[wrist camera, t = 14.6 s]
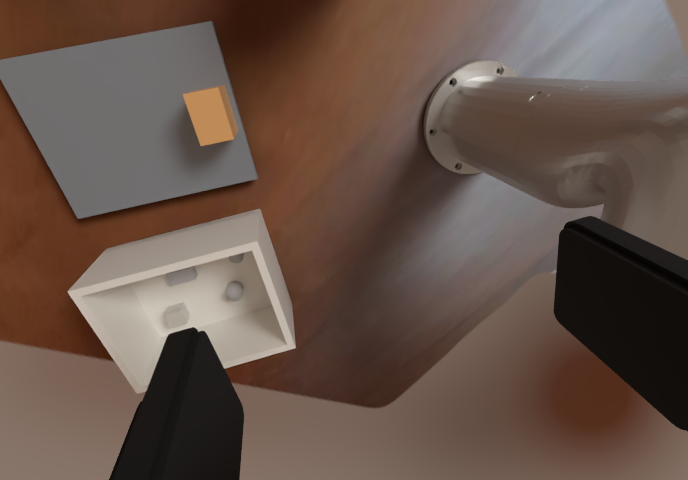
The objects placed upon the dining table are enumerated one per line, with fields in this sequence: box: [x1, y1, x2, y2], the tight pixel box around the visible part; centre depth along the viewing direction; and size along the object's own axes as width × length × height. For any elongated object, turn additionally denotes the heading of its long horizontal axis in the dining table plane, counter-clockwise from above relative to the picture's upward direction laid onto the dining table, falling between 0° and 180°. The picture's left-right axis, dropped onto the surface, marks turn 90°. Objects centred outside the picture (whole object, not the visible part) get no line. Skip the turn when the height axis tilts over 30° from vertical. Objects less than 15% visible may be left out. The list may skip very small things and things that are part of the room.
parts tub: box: [68, 209, 296, 394], centre depth 42 cm, size 18×14×9 cm
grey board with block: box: [0, 21, 258, 219], centre depth 34 cm, size 19×15×7 cm
